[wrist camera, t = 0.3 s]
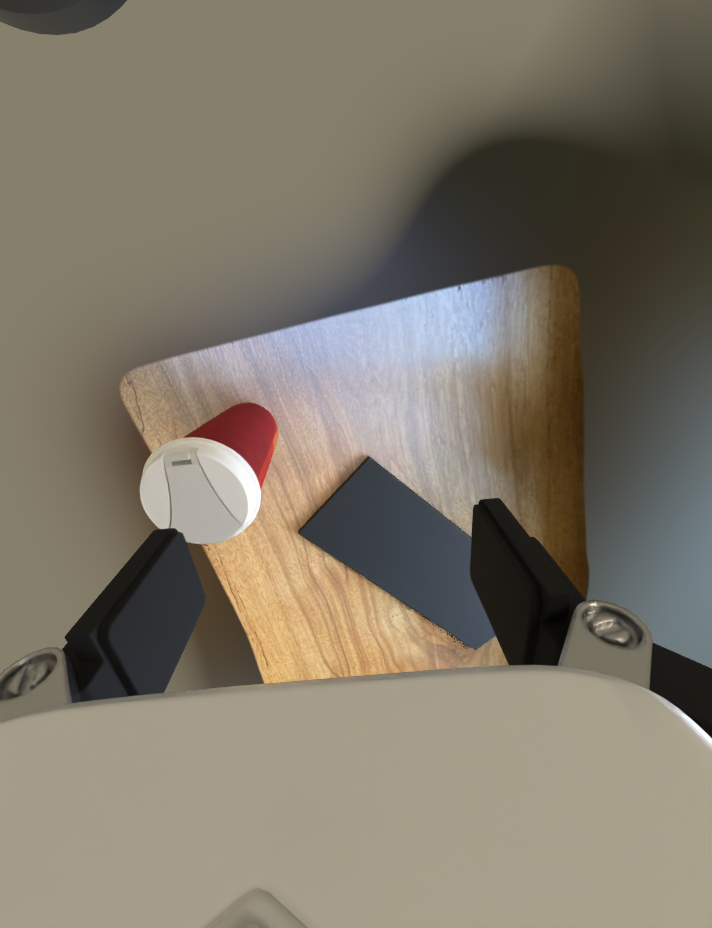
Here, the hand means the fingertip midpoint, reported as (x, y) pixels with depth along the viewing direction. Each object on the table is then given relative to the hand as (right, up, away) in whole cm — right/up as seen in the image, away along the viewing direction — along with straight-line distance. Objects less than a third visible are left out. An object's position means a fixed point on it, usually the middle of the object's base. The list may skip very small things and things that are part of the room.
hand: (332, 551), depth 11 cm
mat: (+10, -9, +31) cm, 34 cm away
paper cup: (-10, +6, +24) cm, 27 cm away
